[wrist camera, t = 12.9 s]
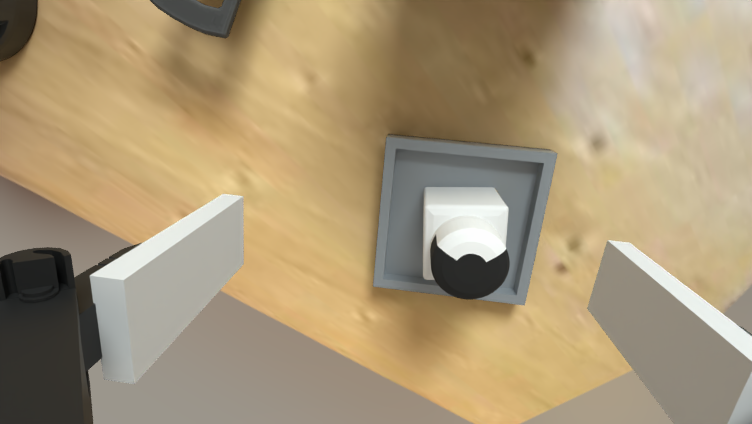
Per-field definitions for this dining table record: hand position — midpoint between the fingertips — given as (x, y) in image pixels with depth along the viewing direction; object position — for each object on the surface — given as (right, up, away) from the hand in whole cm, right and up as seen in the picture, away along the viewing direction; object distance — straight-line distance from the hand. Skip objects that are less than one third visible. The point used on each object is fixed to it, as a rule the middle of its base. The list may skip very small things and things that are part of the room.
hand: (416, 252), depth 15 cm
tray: (+7, +1, +29) cm, 30 cm away
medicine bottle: (+7, +1, +28) cm, 29 cm away
